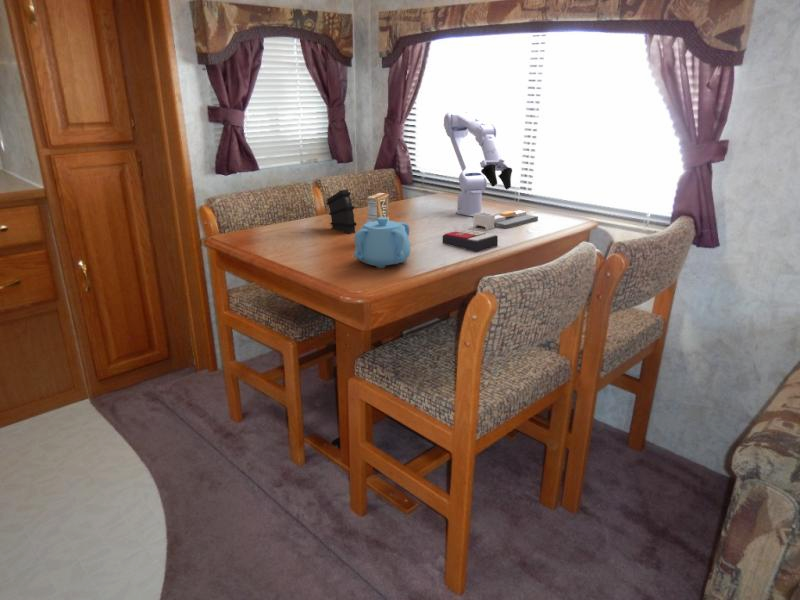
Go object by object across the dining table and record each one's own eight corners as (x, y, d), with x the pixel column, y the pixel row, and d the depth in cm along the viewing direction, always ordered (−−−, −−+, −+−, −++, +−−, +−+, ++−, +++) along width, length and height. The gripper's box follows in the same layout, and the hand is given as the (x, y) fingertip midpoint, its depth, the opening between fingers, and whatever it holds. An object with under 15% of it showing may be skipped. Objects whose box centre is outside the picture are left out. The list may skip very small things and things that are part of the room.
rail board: (476, 222, 218) (476, 215, 217) (508, 214, 230) (509, 208, 229) (505, 228, 208) (506, 221, 207) (537, 220, 221) (538, 213, 220)
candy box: (378, 236, 199) (378, 192, 194) (389, 237, 198) (389, 193, 192) (367, 242, 192) (366, 196, 186) (378, 243, 190) (377, 197, 185)
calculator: (463, 227, 196) (498, 233, 186) (463, 240, 198) (498, 246, 187) (441, 233, 189) (476, 239, 179) (442, 245, 191) (476, 252, 180)
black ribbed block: (352, 231, 199) (340, 190, 199) (334, 240, 210) (323, 201, 210) (361, 229, 201) (349, 188, 201) (343, 238, 212) (331, 200, 212)
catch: (499, 216, 218) (499, 213, 217) (509, 213, 221) (509, 210, 221) (505, 217, 216) (506, 214, 215) (515, 215, 219) (515, 211, 219)
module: (473, 226, 212) (474, 213, 210) (480, 225, 214) (481, 211, 212) (487, 229, 207) (487, 216, 205) (494, 228, 210) (494, 214, 208)
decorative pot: (366, 253, 179) (364, 210, 175) (415, 256, 176) (415, 213, 171) (348, 268, 165) (346, 222, 160) (402, 272, 161) (401, 225, 156)
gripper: (486, 144, 203) (496, 178, 199) (512, 152, 212) (522, 183, 209) (472, 155, 208) (482, 188, 204) (498, 162, 217) (508, 193, 214)
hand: (501, 186), depth 207 cm, fingers open, 7 cm apart
